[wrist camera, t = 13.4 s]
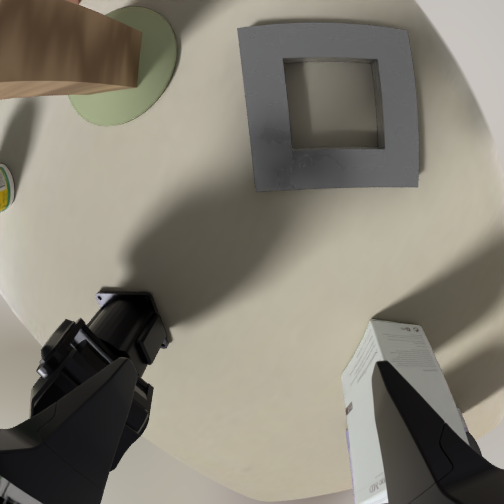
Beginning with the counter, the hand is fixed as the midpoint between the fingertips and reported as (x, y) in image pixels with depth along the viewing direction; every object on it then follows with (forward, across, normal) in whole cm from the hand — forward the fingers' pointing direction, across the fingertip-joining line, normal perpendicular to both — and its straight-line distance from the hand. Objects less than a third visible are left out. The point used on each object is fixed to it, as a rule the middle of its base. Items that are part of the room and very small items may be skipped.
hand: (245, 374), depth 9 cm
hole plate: (+13, -5, -9) cm, 17 cm away
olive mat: (+13, +10, -15) cm, 22 cm away
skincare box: (+13, -10, +13) cm, 21 cm away
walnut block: (+13, +10, -15) cm, 22 cm away
